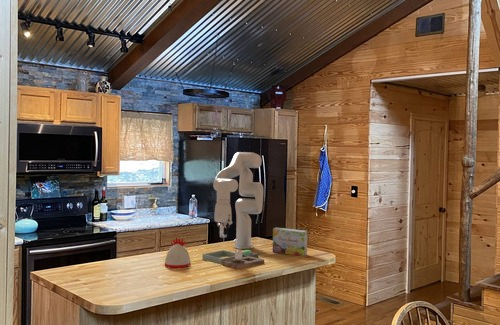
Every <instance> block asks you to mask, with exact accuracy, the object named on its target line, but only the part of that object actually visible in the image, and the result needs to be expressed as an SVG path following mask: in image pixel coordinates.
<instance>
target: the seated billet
mask: <svg viewBox="0 0 500 325" xmlns="http://www.w3.org/2000/svg"><path fill="white" fill-rule="evenodd" d="M242 252H243V249H236V250H234V253H235V263H238V264H239V263H242Z"/></svg>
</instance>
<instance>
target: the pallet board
mask: <svg viewBox="0 0 500 325" xmlns="http://www.w3.org/2000/svg"><path fill="white" fill-rule="evenodd" d="M262 264H265V259H263V258H259V257H258V258H255V257H251V256H247V257H242V263H239V264H238V263H235V259H233V260H228V261H223V264H222V266H223V267H227V268H230V269H235V270H238V271H239V270H242V269H246V268H251V267H255V266H259V265H262Z"/></svg>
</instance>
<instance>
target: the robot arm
mask: <svg viewBox="0 0 500 325" xmlns="http://www.w3.org/2000/svg"><path fill="white" fill-rule="evenodd" d="M231 158H232V159H231V161H230V163H229V165H228V166H227V167H225V168H224V169H221V170H220V171H219V172H218V173H217V174H216V176H215V178H214V181H213V185H212V186H213V190H214V191H216V203H215V206H214V207H215V208H214V215H213V216H214V217H213V218H214V219H213V220H214V222H215V224H216V225H217V234H219V235H220V223H221V222H222V223H224V227H225V228H224V235H227V236H228V235H229V228H230V226H231V225H232V224H233V221H232V217H233V216H232V214H233V213H232V207H231V193H234V192H236V191H237V190H238V194H239V195H240V196H241V197H248V198H238V199H237V200H236V201H235V205H234V206H235V213H236V229H235V230H236V232H235V233H236V234H235V236H236V237H235V239H234V240H232V243H235V244H233V248H235V249H236V250H250V249H253V248H254V244H252V218H251V216H250V215H258V214H261V213H262V211H263V203H264V185H263V184H262V183H261V182H259V181H257V182H256V181H255V182H254V181H253V180H254V179H253V177H254V174H253V172H252V170H251V169H258V168H260V167H261V166H262V162H263V161H262V160H263V159H262V157H261V156H260V154H257V153H255V152H252V151H251V152H250V151H249V152H248V151H247V152H246V151H243V152H242V151H237V152H236V153H234V154H233V157H231ZM250 168H251V169H250ZM238 176H239V183H238V181H237V179H235V178H236V177H238ZM249 197H250V198H249ZM226 223H227V225H226Z"/></svg>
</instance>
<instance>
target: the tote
mask: <svg viewBox="0 0 500 325" xmlns="http://www.w3.org/2000/svg"><path fill="white" fill-rule="evenodd" d="M242 257H243V255H242ZM201 259H202V260H203V261H206V262H207V261H209V262H213V263H217V264H221V265H223V261H228V260H233V259H235V251H234V252H232V251H228V250H224V249H222V250H218V251H213V252H207V253H203V254H202V258H201Z"/></svg>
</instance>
